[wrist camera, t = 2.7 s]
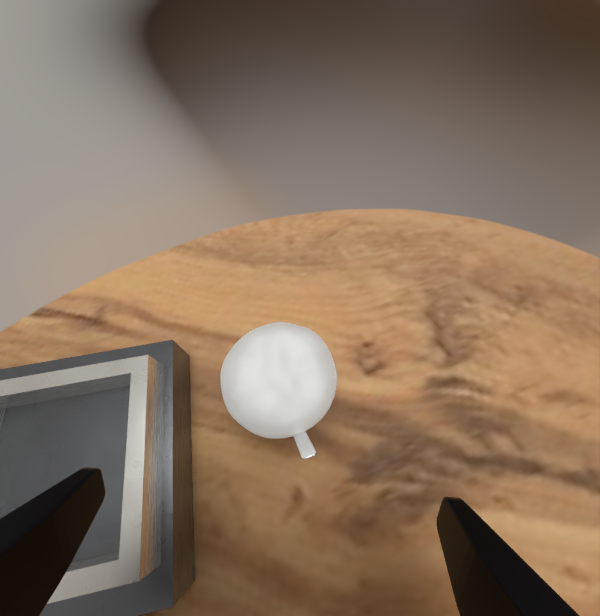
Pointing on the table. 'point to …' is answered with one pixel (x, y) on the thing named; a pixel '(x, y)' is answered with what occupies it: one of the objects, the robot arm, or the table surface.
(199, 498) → the table surface
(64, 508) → the robot arm
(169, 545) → the grey open rectangular box
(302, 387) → the milkshake
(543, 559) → the table surface
